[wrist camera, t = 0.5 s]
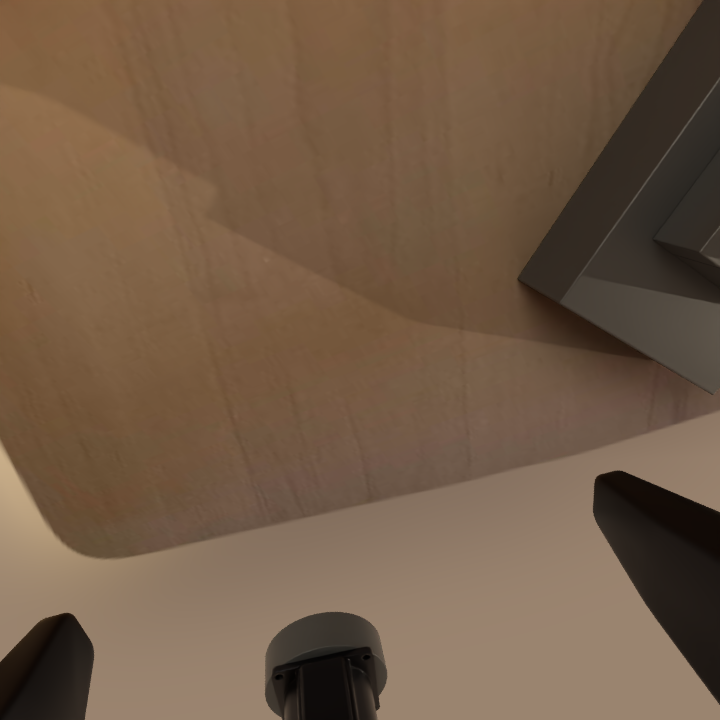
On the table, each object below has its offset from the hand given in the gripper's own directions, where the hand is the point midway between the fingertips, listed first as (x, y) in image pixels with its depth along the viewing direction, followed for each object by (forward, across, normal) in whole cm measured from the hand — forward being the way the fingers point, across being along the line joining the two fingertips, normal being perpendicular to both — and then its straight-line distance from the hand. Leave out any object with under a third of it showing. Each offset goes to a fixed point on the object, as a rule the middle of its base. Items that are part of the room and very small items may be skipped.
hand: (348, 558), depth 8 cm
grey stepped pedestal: (+14, -18, -1) cm, 23 cm away
